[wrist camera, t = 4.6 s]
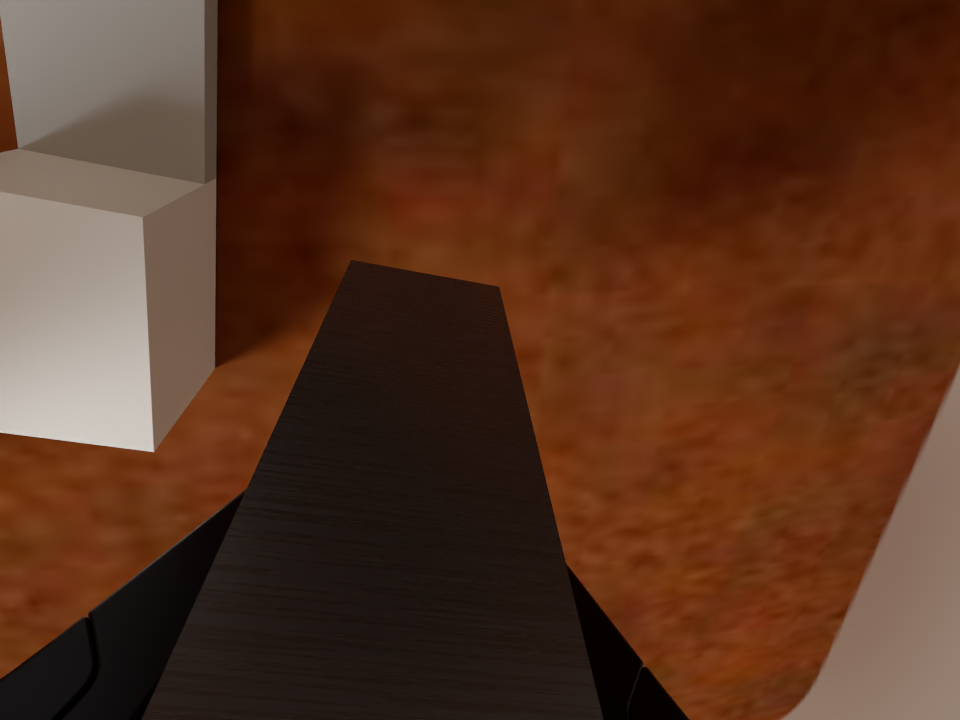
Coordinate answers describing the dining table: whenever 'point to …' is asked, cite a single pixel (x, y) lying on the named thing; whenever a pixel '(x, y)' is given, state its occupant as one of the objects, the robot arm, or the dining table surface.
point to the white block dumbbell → (107, 218)
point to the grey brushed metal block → (391, 534)
